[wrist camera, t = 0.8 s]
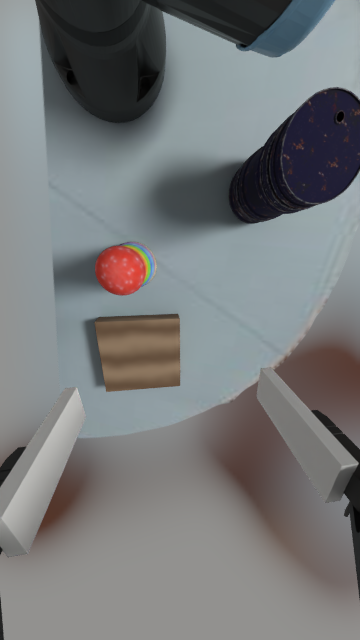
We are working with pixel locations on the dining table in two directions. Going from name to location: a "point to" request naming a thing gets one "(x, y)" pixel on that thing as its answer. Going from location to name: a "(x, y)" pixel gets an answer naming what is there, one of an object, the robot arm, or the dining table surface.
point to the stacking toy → (125, 268)
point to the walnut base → (139, 351)
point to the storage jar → (301, 159)
